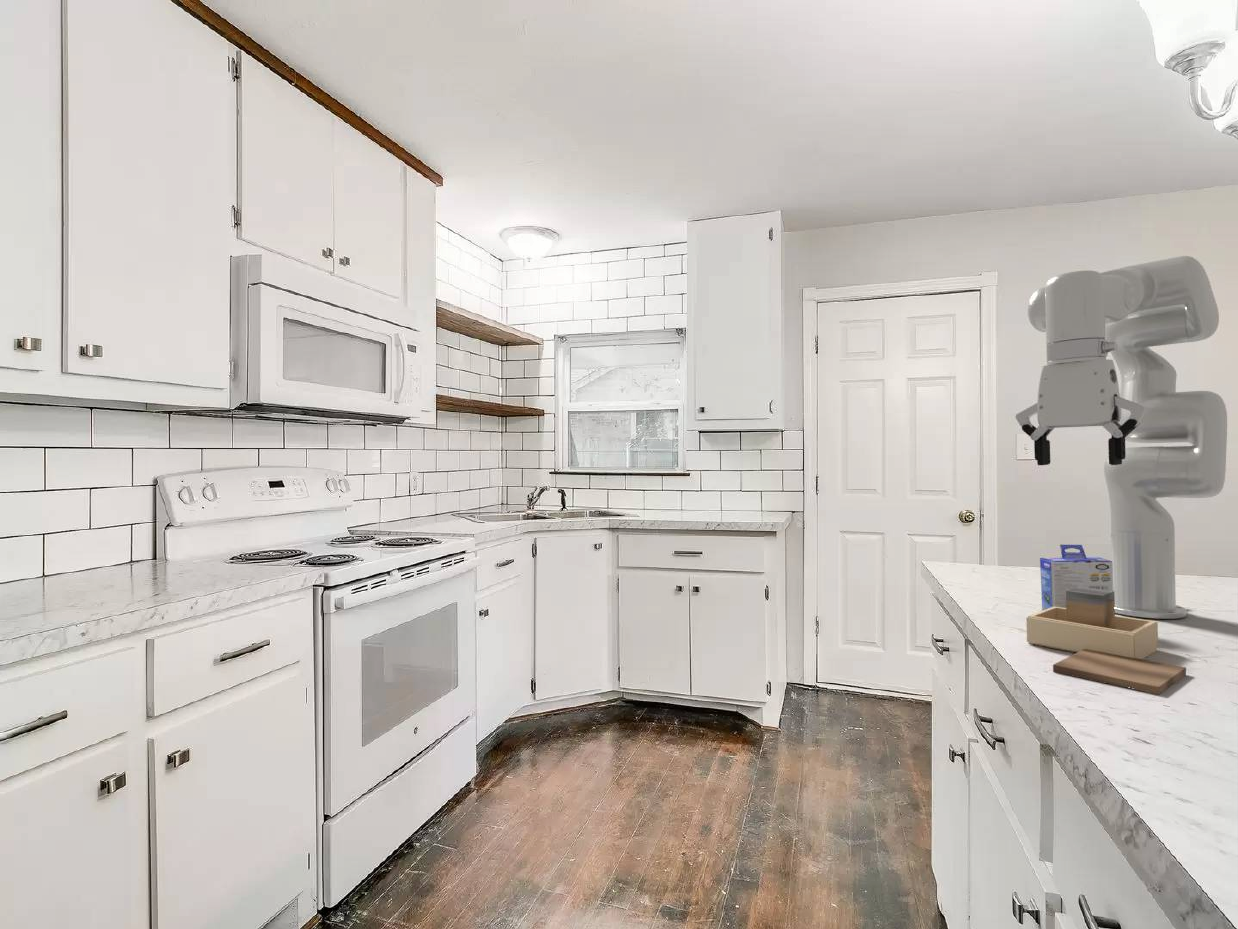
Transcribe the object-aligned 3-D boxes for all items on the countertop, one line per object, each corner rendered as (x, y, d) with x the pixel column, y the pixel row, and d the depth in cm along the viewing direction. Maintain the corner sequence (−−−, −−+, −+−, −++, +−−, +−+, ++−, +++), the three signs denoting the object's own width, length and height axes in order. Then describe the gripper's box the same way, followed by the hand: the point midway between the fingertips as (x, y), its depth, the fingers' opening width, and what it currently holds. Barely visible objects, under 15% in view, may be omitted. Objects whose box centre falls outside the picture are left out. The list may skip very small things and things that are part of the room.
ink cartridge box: (1100, 624, 119) (1098, 543, 119) (1116, 632, 113) (1115, 548, 113) (1039, 622, 121) (1038, 543, 121) (1052, 630, 115) (1051, 547, 115)
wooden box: (1055, 631, 114) (1054, 606, 114) (1158, 649, 103) (1157, 621, 103) (1026, 644, 107) (1026, 616, 107) (1133, 664, 96) (1132, 634, 96)
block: (1079, 641, 108) (1078, 586, 108) (1115, 647, 104) (1114, 591, 104) (1067, 646, 106) (1065, 590, 105) (1103, 653, 101) (1102, 595, 101)
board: (1085, 655, 101) (1085, 648, 101) (1185, 674, 91) (1185, 667, 91) (1053, 671, 94) (1053, 664, 94) (1158, 694, 84) (1158, 687, 84)
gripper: (1153, 347, 97) (1155, 463, 97) (1025, 362, 111) (1028, 464, 111) (1135, 344, 93) (1138, 465, 93) (1004, 360, 107) (1007, 466, 107)
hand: (1078, 464), depth 102 cm, fingers open, 9 cm apart
